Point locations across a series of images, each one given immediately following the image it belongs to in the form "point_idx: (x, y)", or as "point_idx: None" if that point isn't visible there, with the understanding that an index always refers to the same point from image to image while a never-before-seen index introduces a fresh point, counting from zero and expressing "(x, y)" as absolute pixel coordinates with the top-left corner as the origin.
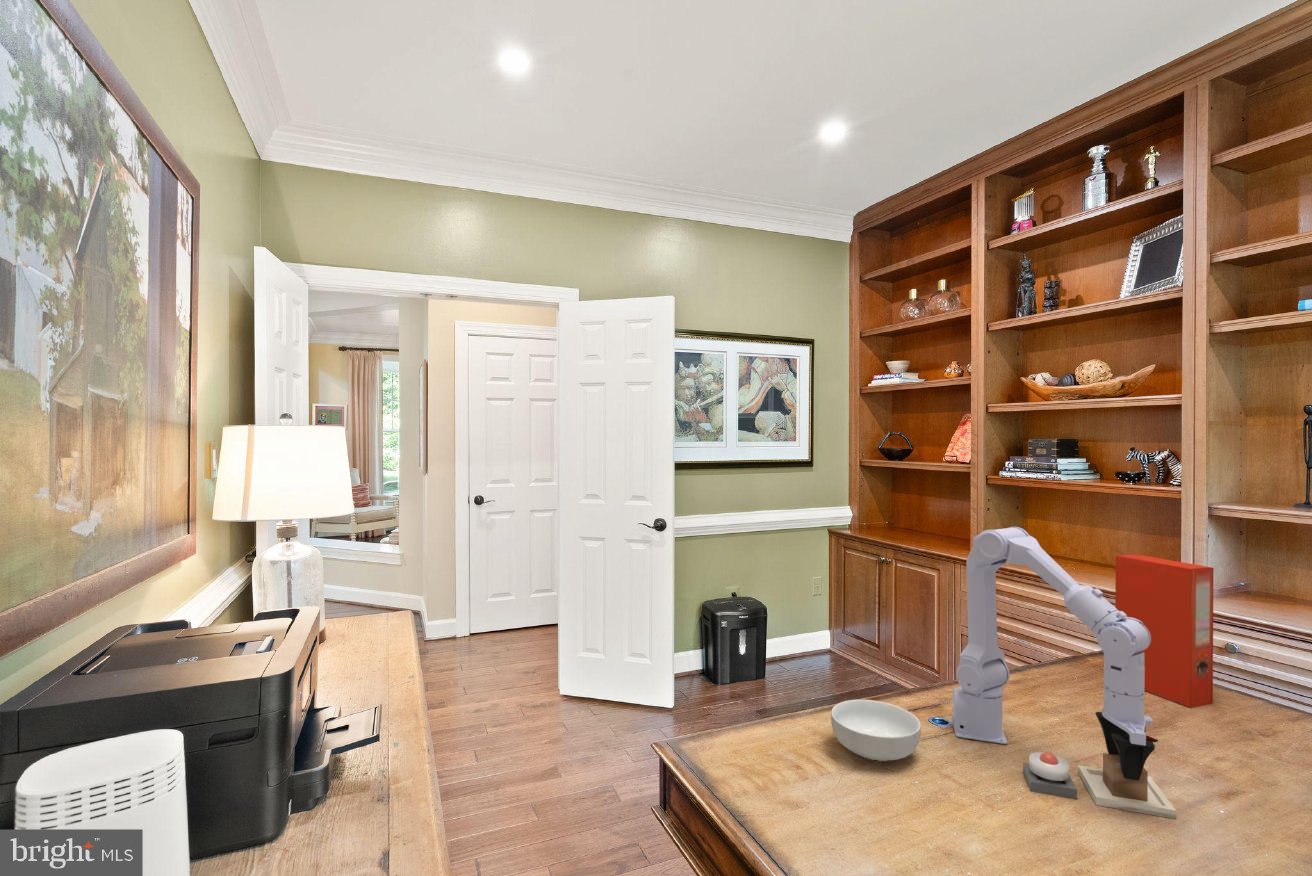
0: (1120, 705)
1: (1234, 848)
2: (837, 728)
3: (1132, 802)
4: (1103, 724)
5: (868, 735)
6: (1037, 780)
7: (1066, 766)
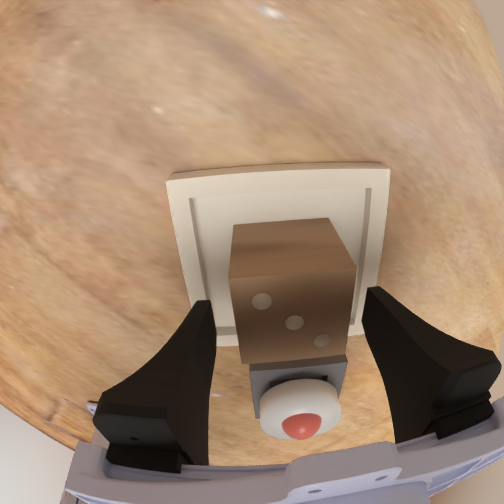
0: None
1: (464, 84)
2: None
3: (376, 268)
4: (206, 445)
5: None
6: None
7: (321, 403)
